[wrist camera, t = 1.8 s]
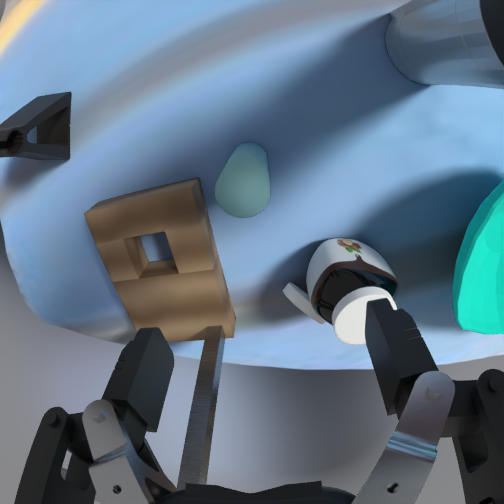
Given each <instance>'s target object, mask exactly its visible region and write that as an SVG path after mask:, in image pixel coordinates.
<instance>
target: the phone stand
mask: <svg viewBox="0 0 504 504" xmlns="http://www.w3.org/2000/svg"><path fill="white" fill-rule="evenodd" d="M71 95H72V94H71V92H65V93H58V94H51V95H45V96H39V97H37V98H35V99H34V100H32V101H31V102H29V103H28V104H27V105H25V106H24V107H22V108H21V109H20V110H18V111H17V112H16V113H14V114H13V115H12V116H10V117H9V118H8V119H7V120H5V121H4V122H3V123H2V124H0V157H14V156H16V157H23V158H30V159H37V160H44V159H67V160H68V159H70V127H69V125H70V112H71ZM35 126H37V144H34V143H28V141H27V134H28V132H29V131H30V130H31V129H32V128H34V127H35Z"/></svg>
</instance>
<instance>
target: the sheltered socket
mask: <svg viewBox="0 0 504 504" xmlns="http://www.w3.org/2000/svg"><path fill="white" fill-rule="evenodd" d="M84 215H85V218H86V220H87V223H88V226H89V228H90V231H91V233H92V236H93V238H94V241H95V243H96V246H97V248H98V251H99V253H100V255H101V258H102V260H103V262H104V265H105V267H106V269H107V271H108V274H109V276H110V278H111V280H112V282H113V284H114V287H115V289H116V291H117V293H118V295H119V297H120V299H121V301H122V303H123V305H124V307H125V309H126V311H127V313H128V315H129V317H130V319H131V321H132V323H133V324H134V326H135V328H136V330H137V332H138V330H139V329H140V328H149V327H158V328H159V329H160V330H161V332H162V334H163V335H164V337H165V339H166V341H167V342H173V341H193V340H205V341H204V346H203V351H202V356H201V361H200V366H199V371H198V375H197V380H196V386H195V391H194V396H193V401H192V406H191V411H190V417H189V423H188V427H187V433H186V438H185V444H184V449H183V455H182V460H181V466H180V473H179V478H178V484H177V489H178V491H180V490H184V489H185V486H186V483H192V484H204V485H206V482H207V474H208V466H209V458H210V450H211V441H212V433H213V426H214V418H215V410H216V403H217V395H218V388H219V380H220V373H221V366H222V358H223V351H224V344H225V338H234V330H235V321H236V317H235V314H234V310H233V307H232V303H231V300H230V296H229V292H228V289H227V285H226V281H225V278H224V274H223V270H222V267H221V263H220V259H219V255H218V252H217V248H216V244H215V240H214V236H213V232H212V228H211V225H210V221H209V217H208V213H207V209H206V205H205V201H204V197H203V193H202V188H201V184H200V180H199V178H195V179H190V180H186V181H181V182H176V183H172V184H167V185H163V186H159V187H154V188H150V189H146V190H142V191H138V192H134V193H130V194H126V195H122V196H118V197H115V198H111V199H107V200H104V201H100V202H98V203H97V204H96V205H94V206H93V207H92V208H90V209H89V210H88V211H87V212H85V213H84ZM163 231H165V233H166V236H167V239H168V242H169V245H170V248H171V251H172V254H173V257H174V259H167V260H160V261H153V262H149V261H148V259H147V256H146V254H145V251H144V248H143V245H142V243H141V240H140V237H139V236H141V235H147V234H152V233H158V232H163ZM66 473H67V469H64V468H61V475H62V478H63V479H64V480H65V477H66ZM95 500H96V501H98V502H100V500H99V498H98V495H97V493H96V495H95Z"/></svg>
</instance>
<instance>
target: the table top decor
mask: <svg viewBox="0 0 504 504" xmlns="http://www.w3.org/2000/svg"><path fill="white" fill-rule="evenodd" d="M452 304H453V312H454V316H455V320H456V322H457V324H458V325H459V327H460V329H463V330H469V331H474V332H478V333H482V334H504V179H503V180H502V181H501V182H500V183H499V184H498V185H497V187H496V188H495V189H494V190H493V191H492V192H491V193H490V194H489V195H488V196H487V198H486V199H485V200H484V201H483V202H482V203H481V205H480V207H479V208H478V210H477V212H476V214H475V215H474V217H473V219H472V220H471V222H470V224H469V225H468V227H467V230H466V233H465V236H464V239H463V242H462V245H461V248H460V251H459V253H458V257H457V260H456V265H455V272H454V279H453V285H452Z"/></svg>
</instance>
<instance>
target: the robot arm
mask: <svg viewBox="0 0 504 504" xmlns="http://www.w3.org/2000/svg"><path fill="white" fill-rule="evenodd" d="M390 15H391V21H390V23H389V25H388V27H387V30H386V34H385V42H386V48H387V51H388V54H389V56H390V58H391V60H392V62H393V63H394V65H395V66H396V67H397V68H398V70H399V71H400V72H401V73H402V74H404V75H405V76H406V77H407V78H409V79H411V80H412V81H415V82H417V83H420V84H430V85H461V86H476V87H487V88H496V89H504V0H412V1H410V2H408V3H406V4H404V5H402V6H401V7H399V8H397V9H395V10H393V11H392V12H390ZM365 340H366V345H367V348H368V351H369V354H370V358H371V361H372V364H373V367H374V370H375V373H376V376H377V380H378V383H379V387H380V390H381V393H382V397H383V400H384V404H385V408H386V411H387V415H392V414H396V413H397V417H398V420H399V422H398V424H397V426H396V428H395V430H394V432H393V434H392V436H391V438H390V440H389V442H388V444H387V446H386V447H385V450H384V451H383V453H382V455H381V457H380V458H379V460H378V462H377V464H376V465H375V467H374V469H373V471H372V472H371V474H370V476H369V477H368V479H367V480H366V482H365V484H364V485H363V487H362V488H361V490H360V491H359V493H358V494H357V496H355V495H353V494H351V493H349V492H346V491H344V490H341V489H338V488H332V487H325V486H322V484H321V481H316V482H308V483H298V484H287V485H283V486H280V487H276V488H272V489H268V490H265V491H261V492H257V493H244V492H240V491H236V490H232V489H228V488H224V487H221V486H217V485H204V484H192V483H186V486H185V489H184V490H180V491H178V489H177V488H176V487H175V486H174V484H173V483H172V482H171V481H170V480H169V479H168V478H167V476H166V475H165V474H164V472H163V470H162V469H161V467H160V465H159V463H158V461H157V459H156V457H155V456H154V454H153V452H152V450H151V448H150V446H149V444H148V442H147V440H146V439H145V438H144V437H145V434H146V431H148V432H157V428H158V424H159V420H160V416H161V413H162V409H163V405H164V401H165V397H166V394H167V390H168V386H169V382H170V378H171V375H172V371H173V368H174V356H173V352H172V350H171V349H170V347H169V345H168V343H167V341H166V339H165V337H164V335H163V334H162V332H161V330H160V329H159V328H158V327H149V328H140V329H139V330H138V332H137V334H136V336H135V339H134V341H130V342H129V343H128V344H127V345H126V347H125V348H124V349H123V350H122V352H121V355H120V357H119V359H118V362H117V363H116V366H115V370H113V373H112V375H111V377H110V380H109V382H108V385H107V387H106V389H105V392H104V394H103V397H102V399H101V400H96V401H93V402H92V403H90V404H89V405H88V406H87V407H86V409H85V410H84V412H82V413H76V414H68V413H67V412H66V411H65V410H64V409H63V408H61V407H54V408H51V409H49V410H48V411H47V412H46V413H45V414H44V416H43V418H42V421H41V423H40V426H39V428H38V431H37V433H36V436H35V439H34V441H33V444H32V447H31V450H30V453H29V456H28V458H27V461H26V464H25V468H24V471H23V474H22V477H21V481H20V484H19V488H18V491H17V495H16V499H15V503H14V504H94V500H95V495H96V493H97V495H98V498H99V500H100V503H101V504H414V503H415V501H416V500H417V498H418V496H419V494H420V492H421V490H422V488H423V486H424V484H425V482H426V480H427V477H428V475H429V473H430V471H431V469H432V466H433V464H434V462H435V459H436V456H437V451H436V448H437V445H438V442H439V439H440V438H441V437H452V439H453V443H454V448H455V451H456V456H457V460H458V464H459V469H460V473H461V479H462V483H463V489H464V495H465V502H466V504H504V372H502V371H500V370H497V369H490V370H487V371H485V372H483V373H482V374H481V375H480V377H479V379H478V380H470V381H468V380H467V381H455V380H452V379H451V378H450V377H449V376H448V375H447V374H445V373H443V372H440V371H439V370H438V368H437V366H436V364H435V362H434V360H433V358H432V356H431V354H430V352H429V350H428V348H427V346H426V344H425V342H424V340H423V338H422V337H421V334H420V332H419V330H418V329H417V326H416V324H415V322H414V320H413V318H412V317H411V316H410V315H409V314H408V313H407V312H405V311H404V310H403V309H402V308H401V309H397V310H394V309H393V307H392V305H391V303H390V301H389V300H388V298H381V299H376V300H371V301H368V302H367V306H366V320H365ZM67 450H68V451H69V452H70V453H72V456H71V459H70V462H69V466H68V469H67V473H66V477H65V480H64V479H63V478H62V475H61V468H62V464H63V461H64V458H65V454H66V451H67Z"/></svg>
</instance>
